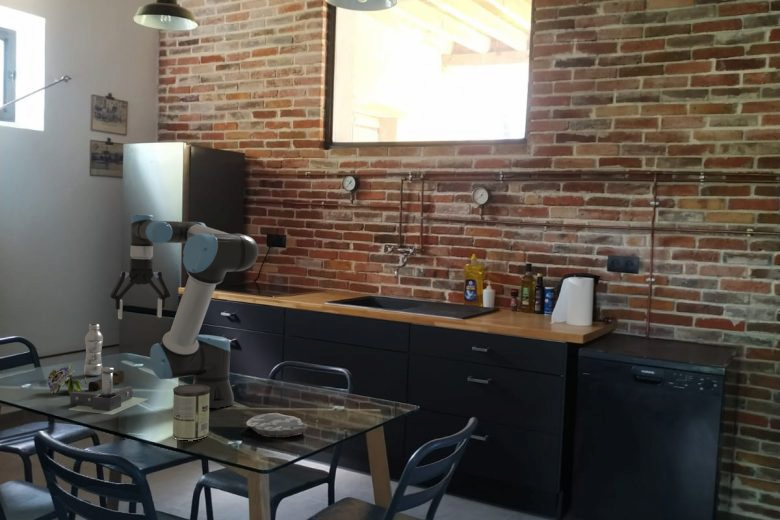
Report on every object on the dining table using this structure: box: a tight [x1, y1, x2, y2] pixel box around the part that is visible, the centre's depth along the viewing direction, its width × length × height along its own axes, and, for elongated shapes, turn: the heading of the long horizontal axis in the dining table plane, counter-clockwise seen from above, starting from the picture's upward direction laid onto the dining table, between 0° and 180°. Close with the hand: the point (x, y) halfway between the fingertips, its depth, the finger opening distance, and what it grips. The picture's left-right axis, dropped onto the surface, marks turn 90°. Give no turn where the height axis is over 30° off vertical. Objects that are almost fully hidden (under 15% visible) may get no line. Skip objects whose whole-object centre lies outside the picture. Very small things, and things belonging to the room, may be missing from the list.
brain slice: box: [245, 412, 309, 435], centre depth 216 cm, size 20×17×3 cm
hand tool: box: [87, 370, 125, 392], centre depth 262 cm, size 19×4×5 cm, turn 164°
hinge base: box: [69, 391, 121, 411], centre depth 233 cm, size 16×6×4 cm, turn 77°
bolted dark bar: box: [112, 385, 133, 402], centre depth 240 cm, size 1×10×4 cm, turn 167°
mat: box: [68, 396, 149, 416], centre depth 237 cm, size 16×21×1 cm
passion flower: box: [46, 364, 88, 396], centre depth 250 cm, size 11×11×12 cm
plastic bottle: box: [83, 323, 104, 377], centre depth 277 cm, size 6×7×20 cm
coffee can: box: [172, 383, 210, 442], centre depth 208 cm, size 10×10×14 cm
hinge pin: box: [101, 366, 115, 398], centre depth 232 cm, size 4×4×13 cm
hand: (140, 318), depth 254 cm, fingers open, 13 cm apart
